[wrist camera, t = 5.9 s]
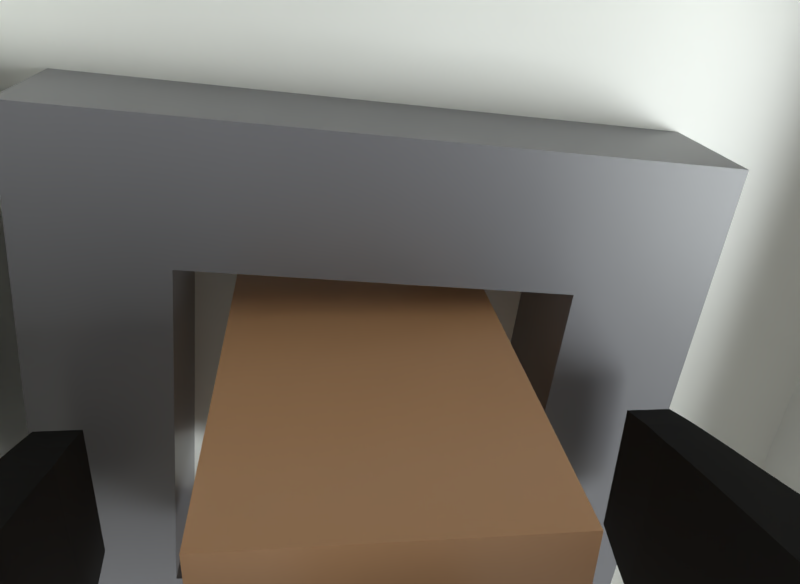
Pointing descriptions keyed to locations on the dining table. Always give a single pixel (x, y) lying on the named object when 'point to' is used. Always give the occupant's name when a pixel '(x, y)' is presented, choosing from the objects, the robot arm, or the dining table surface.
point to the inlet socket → (333, 258)
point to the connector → (379, 446)
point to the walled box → (512, 95)
